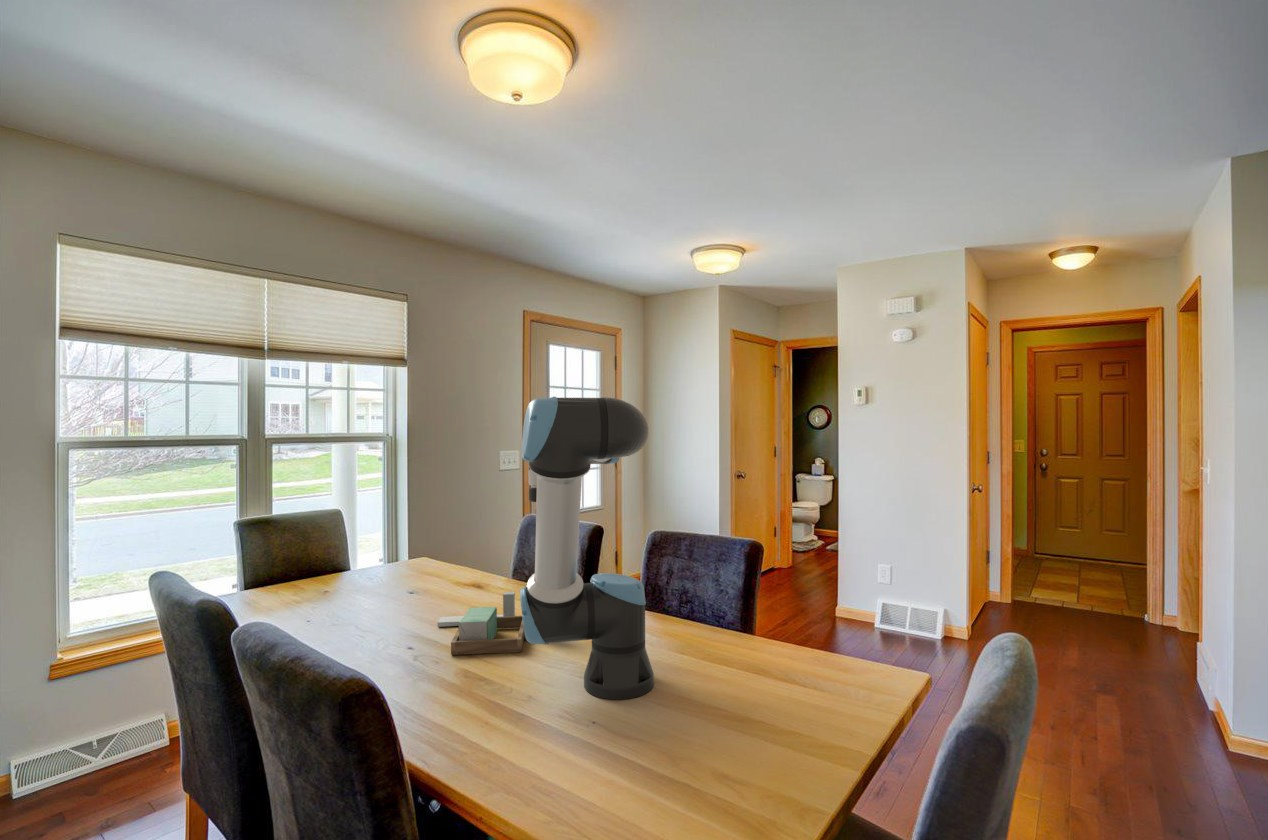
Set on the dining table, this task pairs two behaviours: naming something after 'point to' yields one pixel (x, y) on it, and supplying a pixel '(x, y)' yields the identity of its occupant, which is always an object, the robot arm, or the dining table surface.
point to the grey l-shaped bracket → (507, 611)
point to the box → (478, 624)
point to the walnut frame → (492, 640)
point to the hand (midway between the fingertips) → (544, 567)
